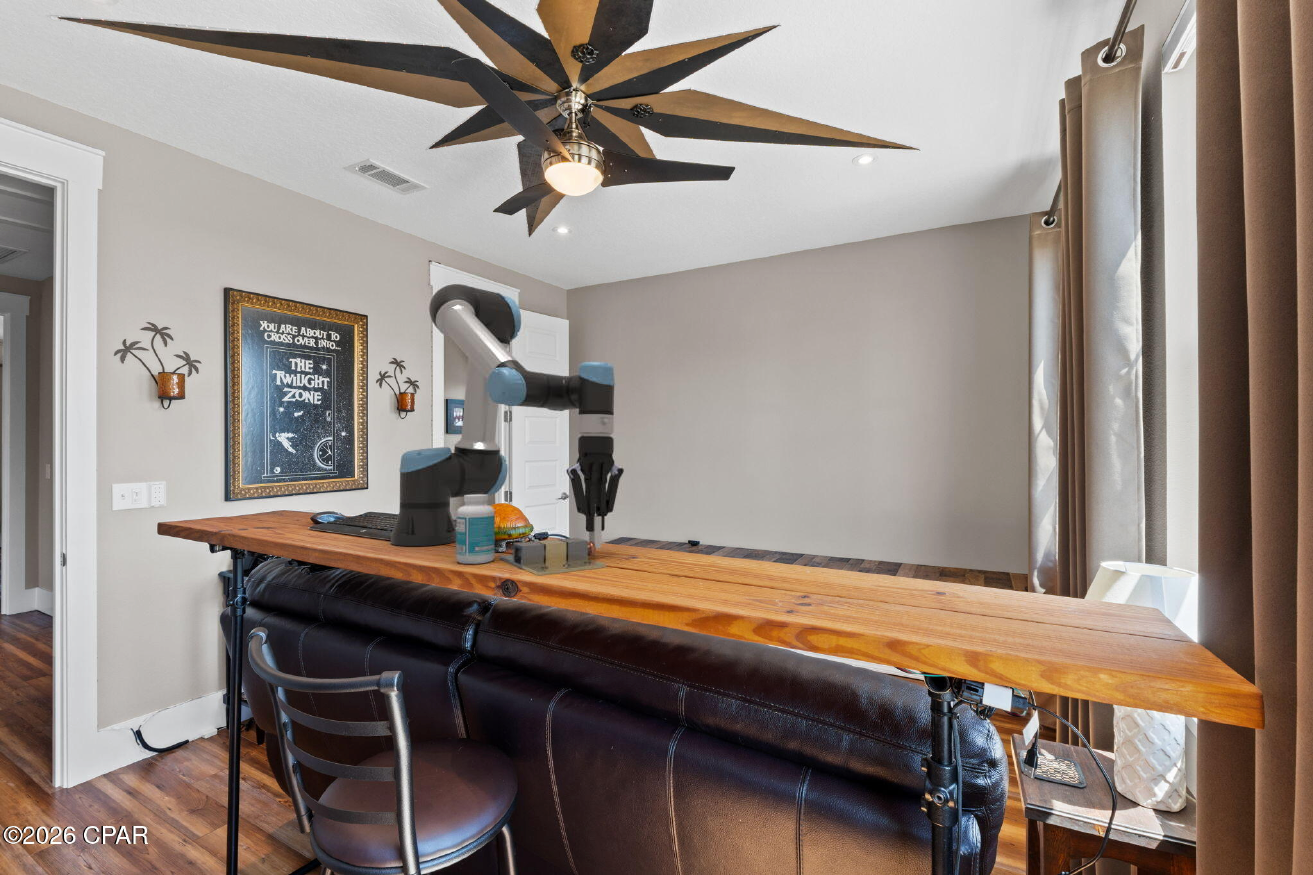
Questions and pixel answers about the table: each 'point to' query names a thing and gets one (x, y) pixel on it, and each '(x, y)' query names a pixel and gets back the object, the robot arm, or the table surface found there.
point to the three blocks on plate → (552, 556)
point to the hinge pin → (591, 549)
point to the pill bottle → (475, 531)
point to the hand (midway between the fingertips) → (595, 546)
